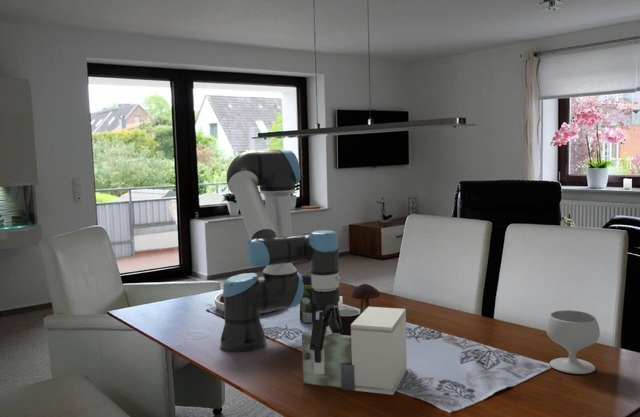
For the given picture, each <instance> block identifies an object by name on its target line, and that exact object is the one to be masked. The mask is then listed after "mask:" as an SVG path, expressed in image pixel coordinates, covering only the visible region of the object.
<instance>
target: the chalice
mask: <svg viewBox="0 0 640 417" xmlns="http://www.w3.org/2000/svg"><path fill="white" fill-rule="evenodd" d="M545 329H546V334H547V336H548V337H549V339H550V340H551V341H553V342H554V343H556V344H558V345H559V346H561V347H563V348H564V349H565V350H566V351H567V353H568V357H559V358H554V359H552V360H551V361H550V362H549V366H550V367H551V368H552V369H555V370H557V371H559V372H562V373H567V374H574V375H586V374H591V373H593V372H595V371H596V368H597V367H596V366H595V365H594V364H593V363H592V362H589V361H587V360H584V359H580V358H577V353H578V352H579V351H580V350H582V349H584V348H587V347H591V346H592V345H594V344H596V343H597V342H598V340H599V338H600V336H601V332H600V331H601V330H600V325H599V321H597V319H596V317H595V315H593V314H591V313H588V312H584V311H578V310H569V309H568V310H557V311H553V312H552V313H550V315H549V316H548V319H547V321H546V326H545Z"/></svg>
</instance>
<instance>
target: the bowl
mask: <svg viewBox="0 0 640 417" xmlns="http://www.w3.org/2000/svg"><path fill="white" fill-rule="evenodd" d="M214 304H215V307H216V308H217V309H218V310H219V311H221V312H222V313H224V296H223V292H220V293H219V294H217V295H215V297H214ZM274 311H275V312H276V310H270V311H263V312H260V314H259V315H262V314H268V313H271V312H274Z"/></svg>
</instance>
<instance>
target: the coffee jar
mask: <svg viewBox="0 0 640 417" xmlns="http://www.w3.org/2000/svg"><path fill="white" fill-rule="evenodd" d="M301 276H302V279H303V285H304V290H303V297H302V300H301V302H300V304H299V321H300V322H301V323H303V324H307V325H309V324H313V312H314V311H316V312H317V310H318V305H317V304H314V303H313V302H312V289H313V288H312V287H311V271H309V272H307V273H304V274H301Z"/></svg>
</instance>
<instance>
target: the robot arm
mask: <svg viewBox="0 0 640 417" xmlns="http://www.w3.org/2000/svg"><path fill="white" fill-rule="evenodd" d="M299 162H300V161H299V159H298V158H297V156H296V154H295V153H294V152H293V151H292V150H290V149H289V150H288V149H269V150H268V149H267V150H266V149H265V150H246V151H244V152H241V153H240V154H238V155H237V156H236V157H235V158H233V159H232V161H231V162H230V164H229V166H228V168H227V170H226V171H227V172H226V185H227V187H228V189H229V191H230V193H231V194H233V195H234V197H235V201H236V204H237V206H238V209H239V212H240V214H241V217H242V221H243V224H244V226H245V229H246V231H247V235H248V238H249V239H248V241H247V242H246V246H245V253H246V254H245V255H246V260H247V263H248V264H249V265H250V266H252V267H265V268H264V269H263V270H262V276H259V275H258V274H257V273H256V272H248V273H247V272H246V273H245V272H244V273H239V274H236V275H233V276H230V277H228V278H227V279H225V280H224V283H223V285H222V286H223V290H222V293H223V296H224V312H223V313H224V314H223V315H224V324H223V329H222V332H221V336H220V347H221V349H223V350H224V351H227V352H235V353H237V352H240V353H241V352H249V351H255V350H258V349H260V348H262V347H265V345H266V344H267V336H266V334H265V331H264V328H263V326H262V325H263V324H262V322H261V318H260V317H261V314H260V312H263V311H270V310H275V311H277V310H288V309H291V308H296V307H298V306H300V302H301V300H302V297H303V290H304V285H303V279H302V276H301V275H302V274H300V272H298V269H297V267H295V265H293V263H302V262H310V272H311V287H312V288H313V289H312V302H313V303H314V304H317V305H318V310H317V312H316V311H314V312H313V323H312V326H311V333H312V334H311V342H310V350H313V354H314V373H316V374H325V364H324V349H323V344H324V339H325V334H327V333H326V332H327V328H328V327H329V329H330V331H331V332H329V334H335V335H340V333H343V329H340V328H342V322H341V317H340V312H339V310H340V309H339V302H340V296H341V295H340V289H339V286H340V281H341V276H339V275H340V274H339V273H340V270H339V267H340V266H339V247H340V246H339V240H338V233H337V232H336V231H335V230H328V229H327V230H326V229H325V230H315V231H312V232H302V233H300V234H299V235H297V234H296V235H292V214H291V213H292V212H291V210H292V209H291V206H292V204H291V202H292V201H291V196H292V194H293V192H295V189H296V187H295V185H298V184H299V183H300V180H301V168H300V163H299ZM261 194H262V195H264V199H263V197H262V195H261ZM338 323H339V324H338ZM339 332H340V333H339ZM316 345H317V346H316Z"/></svg>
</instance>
